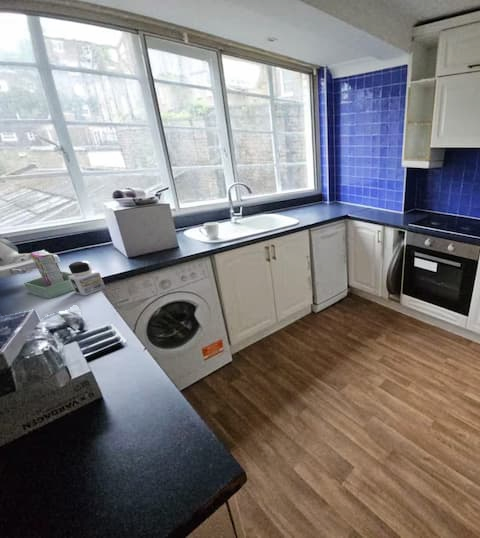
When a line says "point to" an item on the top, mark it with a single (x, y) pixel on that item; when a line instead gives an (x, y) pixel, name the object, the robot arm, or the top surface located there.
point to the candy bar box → (47, 267)
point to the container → (84, 278)
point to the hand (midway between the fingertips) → (37, 267)
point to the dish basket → (52, 291)
